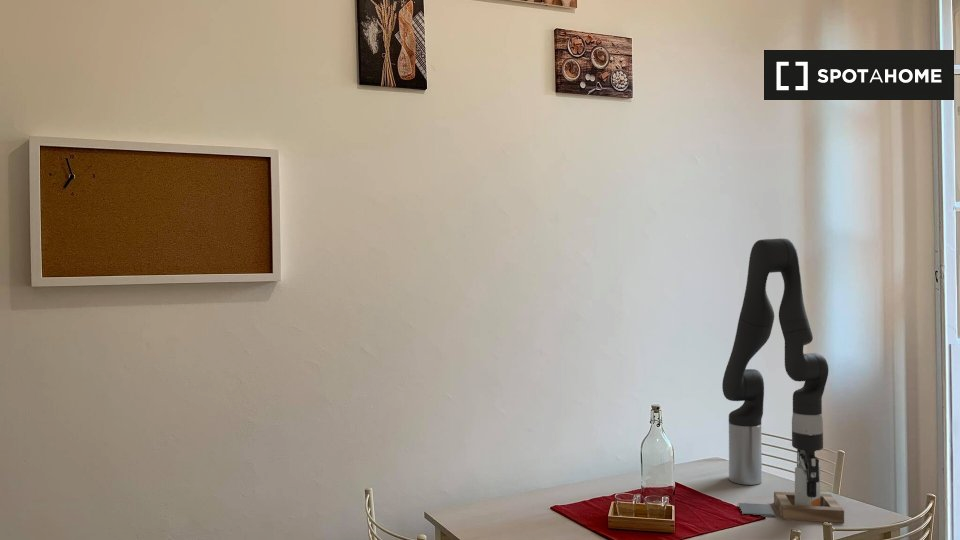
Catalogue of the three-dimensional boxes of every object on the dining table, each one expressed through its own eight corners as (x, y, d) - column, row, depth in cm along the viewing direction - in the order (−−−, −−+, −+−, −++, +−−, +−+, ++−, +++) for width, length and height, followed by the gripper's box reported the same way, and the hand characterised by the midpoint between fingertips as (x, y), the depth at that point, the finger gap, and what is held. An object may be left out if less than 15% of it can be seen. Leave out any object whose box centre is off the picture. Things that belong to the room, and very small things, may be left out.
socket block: (774, 502, 209) (773, 491, 209) (830, 505, 206) (830, 494, 206) (783, 519, 196) (783, 507, 196) (844, 522, 193) (844, 510, 193)
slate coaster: (738, 505, 207) (738, 502, 207) (769, 506, 206) (769, 504, 206) (742, 515, 200) (742, 512, 200) (775, 516, 198) (775, 514, 198)
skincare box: (810, 516, 198) (810, 470, 197) (794, 512, 201) (794, 467, 201) (821, 511, 202) (820, 466, 201) (805, 507, 205) (805, 462, 205)
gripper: (786, 423, 208) (787, 483, 209) (797, 435, 194) (798, 499, 195) (816, 424, 207) (816, 484, 207) (829, 436, 193) (830, 501, 193)
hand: (807, 491), depth 201 cm, fingers open, 8 cm apart
